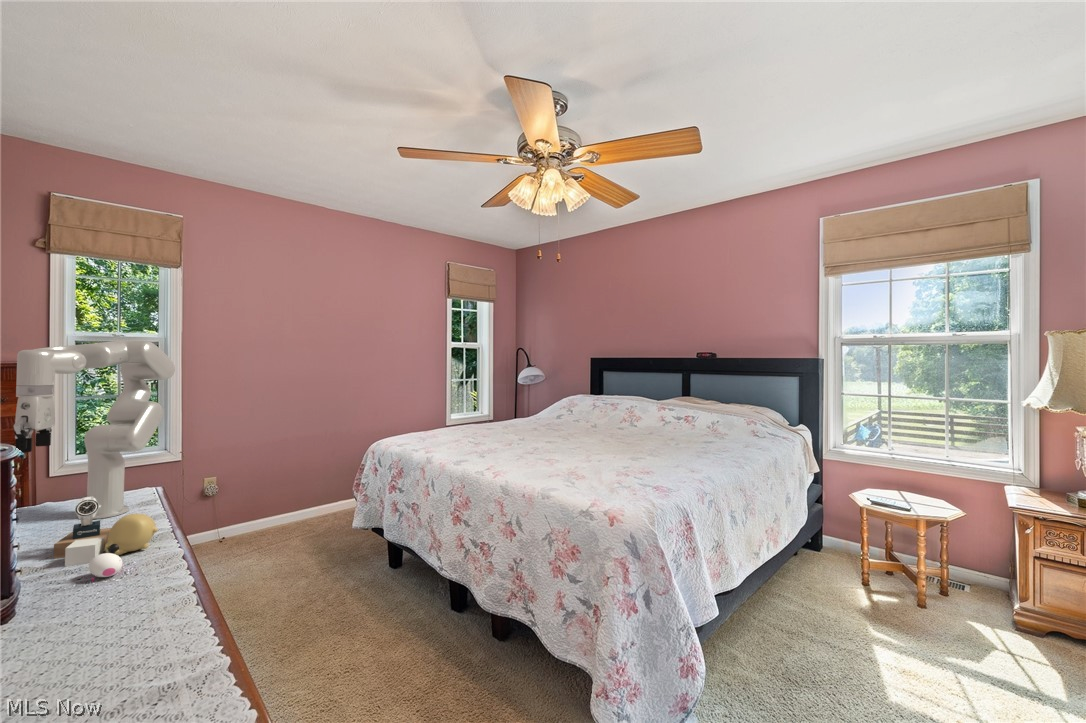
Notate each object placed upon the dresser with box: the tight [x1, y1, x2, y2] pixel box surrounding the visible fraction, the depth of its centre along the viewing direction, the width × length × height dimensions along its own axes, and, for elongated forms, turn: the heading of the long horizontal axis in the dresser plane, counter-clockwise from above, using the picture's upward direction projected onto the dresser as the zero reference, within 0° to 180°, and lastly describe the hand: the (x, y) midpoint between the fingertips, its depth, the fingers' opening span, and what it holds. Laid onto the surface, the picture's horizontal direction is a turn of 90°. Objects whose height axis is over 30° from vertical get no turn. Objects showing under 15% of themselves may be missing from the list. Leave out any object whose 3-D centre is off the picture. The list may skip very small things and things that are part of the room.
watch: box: [72, 496, 101, 540], centre depth 133 cm, size 6×8×11 cm
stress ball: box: [88, 552, 124, 582], centre depth 118 cm, size 8×8×7 cm
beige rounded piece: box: [104, 513, 159, 556], centre depth 133 cm, size 10×12×11 cm
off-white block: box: [64, 537, 105, 567], centre depth 126 cm, size 6×6×5 cm
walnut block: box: [53, 527, 112, 560], centre depth 133 cm, size 10×10×4 cm
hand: (33, 448), depth 135 cm, fingers open, 9 cm apart
